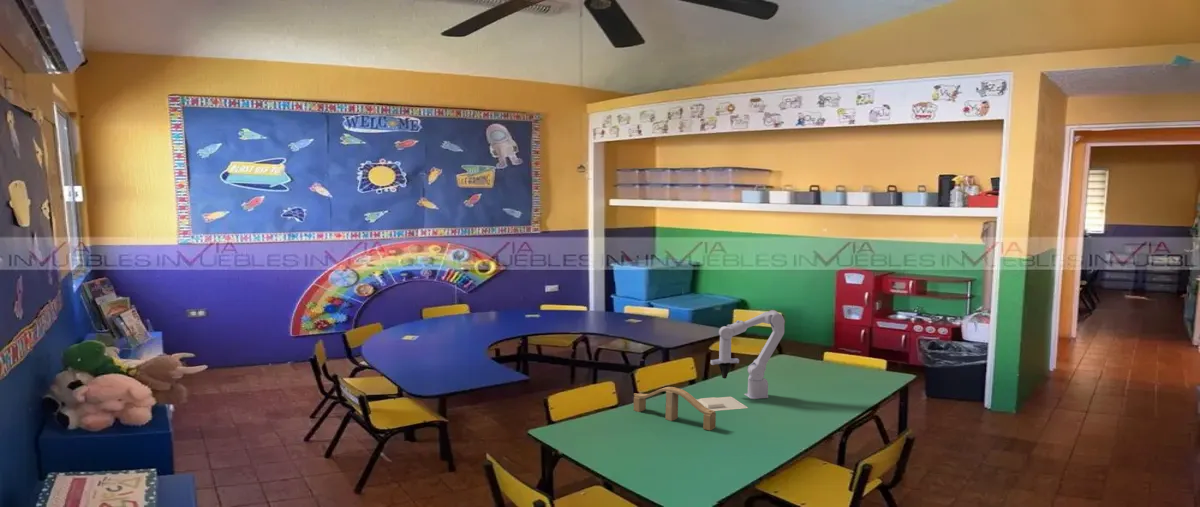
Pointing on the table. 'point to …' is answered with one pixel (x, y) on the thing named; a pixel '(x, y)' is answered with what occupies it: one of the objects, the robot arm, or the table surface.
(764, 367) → the robot arm
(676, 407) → the toy bridge
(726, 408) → the mat
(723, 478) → the table surface
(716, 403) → the tile
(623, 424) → the table surface
